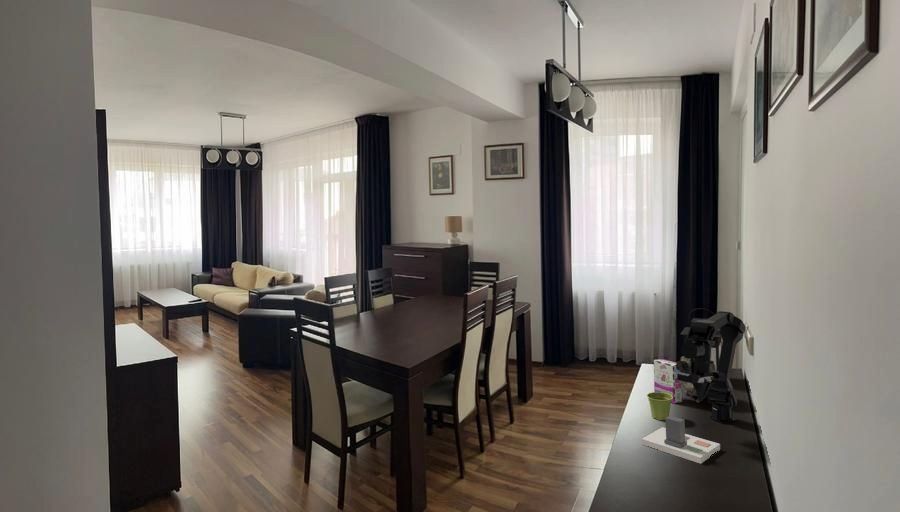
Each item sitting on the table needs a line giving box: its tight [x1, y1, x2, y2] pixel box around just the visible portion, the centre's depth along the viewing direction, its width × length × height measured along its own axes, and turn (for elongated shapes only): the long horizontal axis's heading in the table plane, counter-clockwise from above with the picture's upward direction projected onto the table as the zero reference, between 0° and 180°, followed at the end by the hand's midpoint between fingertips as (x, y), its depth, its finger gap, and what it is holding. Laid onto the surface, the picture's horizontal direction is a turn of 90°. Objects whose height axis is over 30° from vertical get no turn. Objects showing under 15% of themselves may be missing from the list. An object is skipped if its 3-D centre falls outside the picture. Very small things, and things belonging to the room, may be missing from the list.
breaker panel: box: [641, 426, 721, 465], centre depth 169 cm, size 14×20×2 cm
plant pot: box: [646, 391, 673, 421], centre depth 194 cm, size 9×9×9 cm
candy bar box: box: [653, 358, 683, 404], centre depth 214 cm, size 11×5×16 cm, turn 23°
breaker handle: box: [664, 415, 687, 448], centre depth 166 cm, size 4×6×8 cm
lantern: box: [680, 307, 722, 371], centre depth 236 cm, size 17×17×35 cm
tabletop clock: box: [679, 355, 716, 404], centre depth 212 cm, size 14×9×25 cm, turn 178°
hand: (700, 400), depth 178 cm, fingers closed
